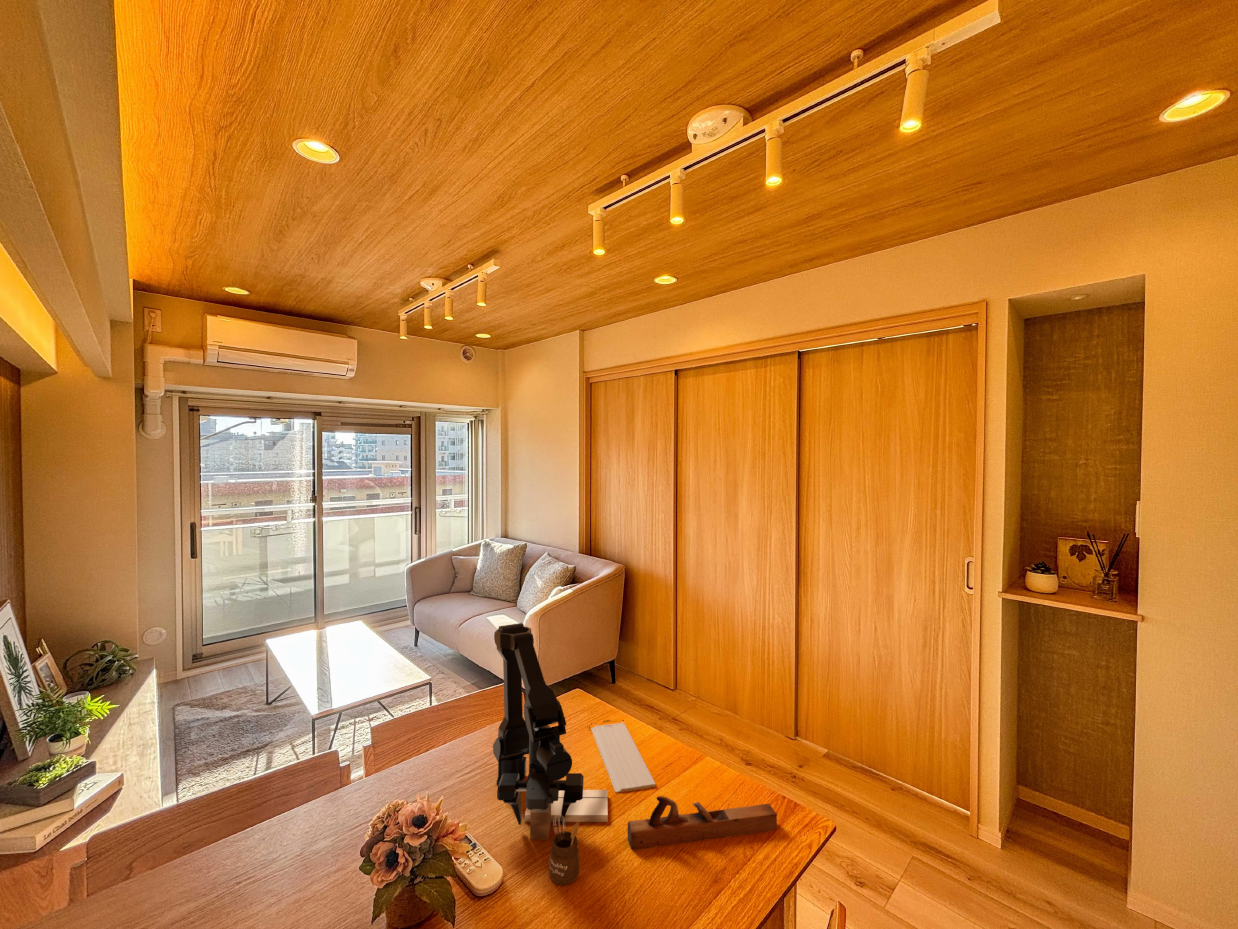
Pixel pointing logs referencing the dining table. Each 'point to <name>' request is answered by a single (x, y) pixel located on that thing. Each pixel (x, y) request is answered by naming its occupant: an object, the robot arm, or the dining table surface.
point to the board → (580, 808)
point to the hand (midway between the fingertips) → (540, 823)
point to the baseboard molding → (622, 758)
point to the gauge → (540, 824)
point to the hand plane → (698, 824)
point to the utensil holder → (564, 856)
